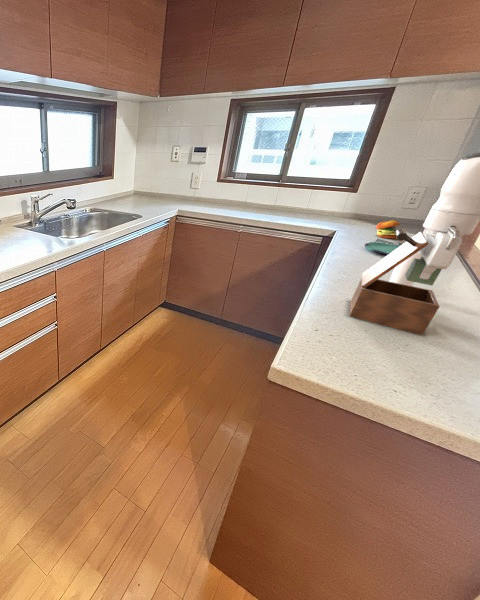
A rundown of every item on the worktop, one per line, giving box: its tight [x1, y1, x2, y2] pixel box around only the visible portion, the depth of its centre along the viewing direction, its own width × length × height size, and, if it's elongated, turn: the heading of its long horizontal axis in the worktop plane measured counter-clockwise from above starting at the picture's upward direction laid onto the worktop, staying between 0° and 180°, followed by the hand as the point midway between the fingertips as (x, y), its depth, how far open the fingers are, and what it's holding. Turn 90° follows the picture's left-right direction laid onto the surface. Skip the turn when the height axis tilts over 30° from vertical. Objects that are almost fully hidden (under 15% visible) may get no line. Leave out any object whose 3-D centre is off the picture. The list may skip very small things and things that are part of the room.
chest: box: [349, 277, 440, 336], centre depth 92 cm, size 16×13×9 cm
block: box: [405, 258, 443, 286], centre depth 86 cm, size 5×5×5 cm
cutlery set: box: [364, 238, 404, 256], centre depth 152 cm, size 20×30×2 cm, turn 132°
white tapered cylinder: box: [388, 251, 421, 286], centre depth 106 cm, size 7×7×15 cm
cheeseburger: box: [375, 219, 401, 241], centre depth 173 cm, size 10×11×10 cm
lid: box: [361, 228, 430, 288], centre depth 90 cm, size 16×13×5 cm
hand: (421, 274), depth 86 cm, fingers closed on block, 5 cm apart
